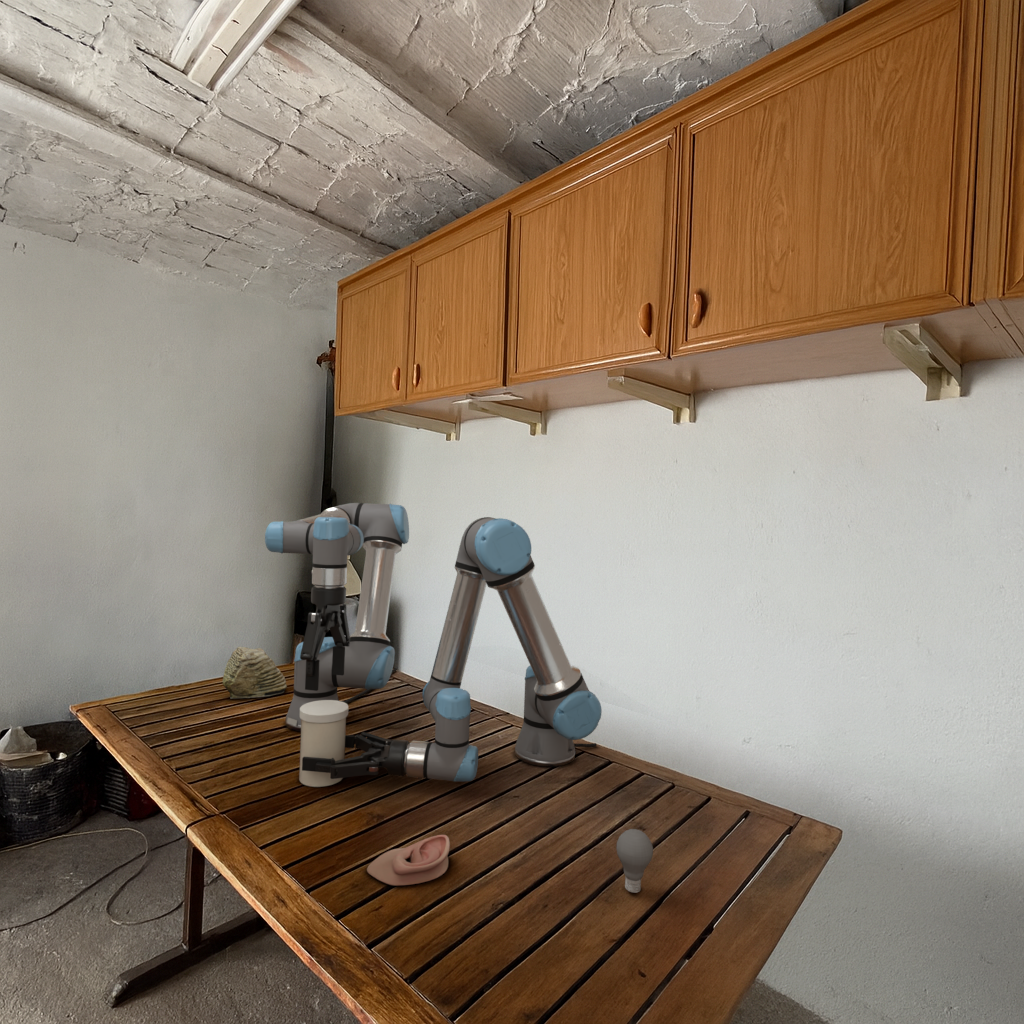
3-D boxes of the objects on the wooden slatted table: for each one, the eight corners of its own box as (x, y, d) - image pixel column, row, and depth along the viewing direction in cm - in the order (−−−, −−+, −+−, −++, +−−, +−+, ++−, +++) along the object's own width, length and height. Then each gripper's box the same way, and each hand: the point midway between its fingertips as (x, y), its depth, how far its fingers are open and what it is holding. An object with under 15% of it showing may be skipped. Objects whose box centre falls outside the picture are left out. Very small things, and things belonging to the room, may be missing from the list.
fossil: (218, 695, 195) (220, 647, 195) (278, 685, 208) (279, 640, 207) (228, 703, 189) (230, 653, 188) (289, 692, 201) (290, 645, 201)
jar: (307, 767, 148) (310, 701, 148) (349, 769, 148) (351, 703, 147) (292, 785, 138) (295, 715, 138) (336, 788, 138) (339, 717, 138)
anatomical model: (359, 856, 105) (387, 822, 116) (358, 879, 105) (386, 843, 116) (435, 869, 102) (456, 833, 114) (434, 893, 103) (455, 855, 114)
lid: (309, 706, 148) (309, 698, 148) (353, 708, 148) (354, 701, 148) (292, 721, 138) (292, 714, 138) (340, 724, 137) (340, 716, 137)
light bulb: (610, 879, 108) (613, 822, 108) (644, 879, 109) (647, 822, 109) (619, 902, 102) (622, 840, 102) (655, 901, 103) (658, 840, 103)
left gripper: (337, 578, 155) (334, 666, 155) (285, 591, 131) (281, 695, 131) (366, 580, 153) (363, 669, 154) (318, 594, 130) (314, 699, 130)
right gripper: (391, 801, 128) (290, 792, 130) (420, 753, 153) (335, 746, 155) (393, 765, 128) (291, 756, 130) (421, 722, 153) (336, 715, 155)
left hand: (325, 681), depth 143 cm, fingers open, 12 cm apart
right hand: (315, 751), depth 142 cm, fingers open, 13 cm apart
